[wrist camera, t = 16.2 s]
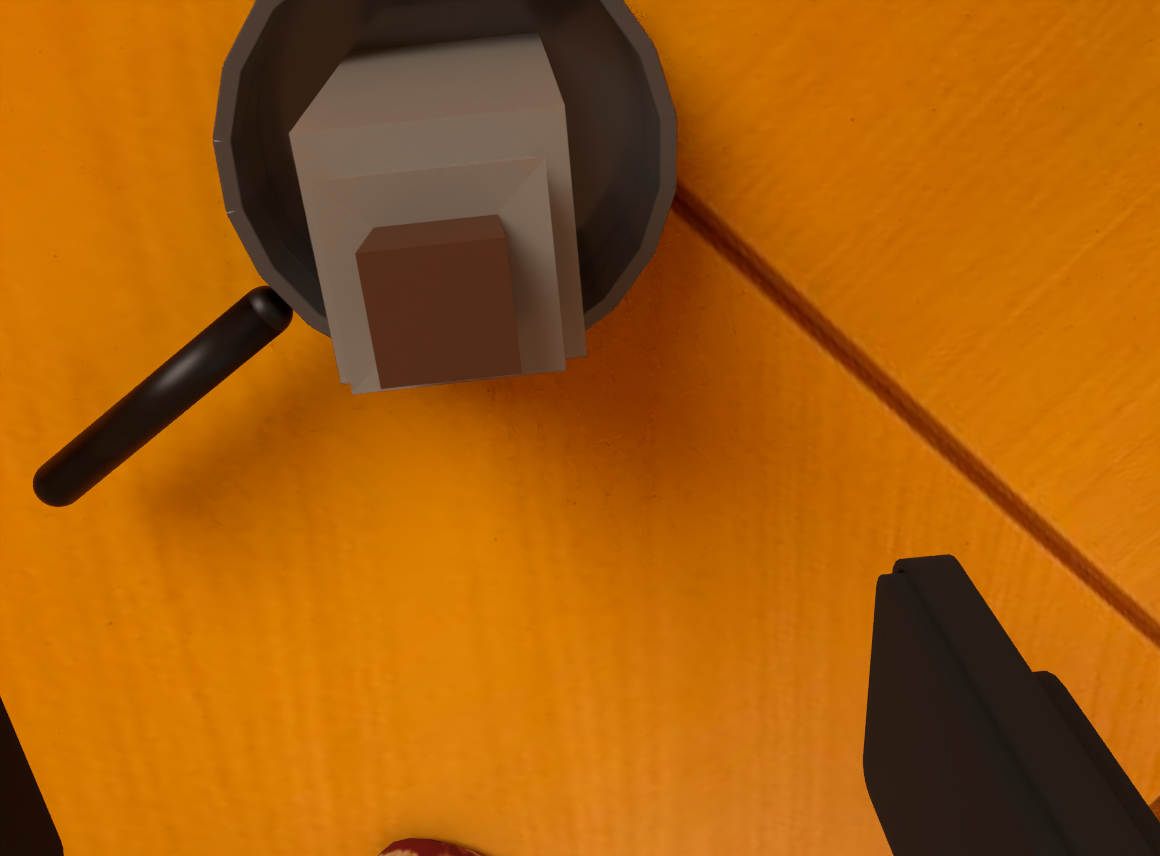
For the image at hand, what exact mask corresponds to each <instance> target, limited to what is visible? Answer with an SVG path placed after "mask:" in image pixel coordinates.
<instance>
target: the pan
mask: <svg viewBox="0 0 1160 856" xmlns="http://www.w3.org/2000/svg"><path fill="white" fill-rule="evenodd" d="M536 32H538V33H539V35H540V38H541V41H542V44H543V47H544V49H545V52H546V55H547V58H548V60H549V63H550V66H551V69H552V71H553V74H554V77H555V80H556V82H557V85H558V88H559V91H560V94H561V96H562V99H563V102H564V105H565V114H566V125H567V137H568V148H569V159H570V170H571V181H572V192H573V204H574V215H575V226H576V237H577V248H578V260H579V271H580V282H581V293H582V304H583V316H584V327H585V331H586V330H587V329H589V328H590V327H591V326H593V325H594V324H595V323H597V322H598V321H599V320H601V319H602V318H603V317H605V316H606V315H607V314H609V313H610V312H611V311H613V310H614V309H615V307H617V306H618V304H619V303H620V302H621V300H622V299H623V297H624V296H625V295H626V293H627V292H628V290H629V289H630V288H631V286H632V285H633V284H634V282H635V281H636V279H637V278H638V277H639V275H640V274H641V272H642V271H643V270H644V268H645V267H646V265H647V264H648V263H649V261H650V260H651V259H652V257H653V256H654V254H655V252H656V249H657V246H658V243H659V240H660V237H661V234H662V231H663V228H664V225H665V222H666V219H667V216H668V213H669V210H670V207H671V204H672V201H673V198H674V195H675V192H676V179H677V118H676V111H675V108H674V105H673V102H672V99H671V95H670V92H669V89H668V86H667V82H666V79H665V76H664V73H663V69H662V66H661V63H660V60H659V57H658V53H657V50H656V47H655V46H654V43H653V42H652V40H651V39H650V38H649V36H648V35H647V33H646V32H645V30H644V29H643V28H642V26H641V25H640V23H639V22H638V21H637V19H636V18H635V16H634V15H633V13H632V12H631V11H630V9H629V8H628V6H627V5H626V4H625V2H624V1H623V0H256V1H255V3H254V5H253V7H252V9H251V11H250V13H249V15H248V17H247V19H246V21H245V22H244V24H243V26H242V28H241V30H240V32H239V34H238V36H237V38H236V40H235V42H234V44H233V46H232V48H231V50H230V52H229V54H228V56H227V57H226V59H225V61H224V66H223V67H222V74H221V81H220V88H219V95H218V103H217V110H216V117H215V125H214V132H213V139H214V140H213V145H214V151H215V156H216V161H217V167H218V172H219V177H220V183H221V188H222V193H223V199H224V204H225V209H226V212H227V215H228V217H229V219H230V221H231V223H232V225H233V227H234V228H235V230H236V232H237V234H238V236H239V238H240V240H241V242H242V243H243V245H244V247H245V249H246V251H247V253H248V255H249V257H250V258H251V260H252V262H253V264H254V266H255V268H256V270H257V271H258V273H259V275H260V276H261V277H262V279H263V280H264V281H265V282H266V283H267V284H268V285H269V286H270V287H271V288H272V289H273V290H274V291H275V292H276V293H277V294H278V295H279V296H280V297H281V298H282V299H283V300H284V301H285V302H286V303H287V304H288V305H289V306H290V307H291V308H292V309H293V310H294V311H295V312H296V313H297V314H298V315H299V316H300V317H301V318H302V319H303V320H304V321H305V322H306V323H307V324H308V325H311V327H312V328H314V329H316V330H317V331H319V332H321V333H323V334H325V335H326V336H328V337H330V338H331V333H330V328H329V324H328V319H327V314H326V309H325V304H324V300H323V295H322V290H321V285H320V281H319V276H318V271H317V266H316V261H315V257H314V252H313V247H312V242H311V238H310V233H309V228H308V223H307V218H306V214H305V209H304V204H303V199H302V195H301V190H300V185H299V180H298V175H297V171H296V166H295V161H294V156H293V151H292V147H291V142H290V137H289V133H290V131H291V130H292V129H293V127H294V126H295V125H296V123H297V122H298V120H299V119H300V118H301V116H302V115H303V114H304V112H305V111H306V110H307V108H308V107H309V105H310V104H311V103H312V101H313V100H314V99H315V97H316V96H317V94H318V93H319V92H320V90H321V89H322V88H323V86H324V85H325V84H326V82H327V81H328V79H329V78H330V77H331V75H332V74H333V73H334V71H335V70H336V69H337V67H338V66H339V64H340V63H341V62H342V60H343V59H344V58H345V56H346V55H347V53H348V52H349V51H358V50H368V49H378V48H388V47H398V46H408V45H417V44H427V43H437V42H447V41H457V40H467V39H477V38H487V37H496V36H506V35H516V34H526V33H536Z"/></svg>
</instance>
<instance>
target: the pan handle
mask: <svg viewBox="0 0 1160 856" xmlns="http://www.w3.org/2000/svg"><path fill="white" fill-rule="evenodd" d="M292 317H293V309H292V308H291V307H290V306H289V305H288V304H287V303H286V302H285V301H284V300H283V299H282V298H281V297H280V296H279V295H278V294H277V293H276V292H275V291H274V290H273V289H272V288H271V287H270V286H260V287H257V288H255V289H253V290H251V291H250V292H249V293H247V294H246V295H245V296H244V297H243V298H241V299H240V300H239V301H238V302H237V303H235V304H234V305H233V306H232V307H231V308H230V309H228V310H227V311H226V312H225V313H224V314H222V315H221V316H220V317H219V318H218V319H216V320H215V321H214V322H213V323H212V324H210V325H209V326H208V327H207V328H206V329H204V330H203V331H202V332H201V333H200V334H199V335H197V336H196V337H195V338H194V339H193V340H191V341H190V342H189V343H188V344H187V345H185V346H184V347H183V348H182V349H181V350H179V351H178V352H177V353H176V354H175V355H173V356H172V357H171V358H170V359H169V360H167V361H166V362H165V363H164V364H163V365H162V366H160V367H159V368H158V369H157V370H156V371H154V372H153V373H152V374H151V375H150V376H148V377H147V378H146V379H145V380H144V381H142V382H141V383H140V384H139V385H138V386H136V387H135V388H134V389H133V390H132V391H131V392H129V393H128V394H127V395H126V396H125V397H123V398H122V399H121V400H120V401H119V402H117V403H116V404H115V405H114V406H113V407H111V408H110V409H109V410H108V411H107V412H105V413H104V414H103V415H102V416H101V417H100V418H98V419H97V420H96V421H95V422H94V423H92V424H91V425H90V426H89V427H88V428H86V429H85V430H84V431H83V432H82V433H80V434H79V435H78V436H77V437H76V438H74V439H73V440H72V441H71V442H70V443H68V444H67V445H66V446H65V447H64V448H63V449H61V450H60V451H59V452H58V453H57V454H55V455H54V456H53V457H52V458H51V459H49V460H48V461H47V462H46V463H45V464H43V465H42V466H41V467H40V468H39V469H38V470H37V472H36V474H35V476H34V479H33V489H34V492H35V494H36V496H37V497H38V498H39V499H40V500H41V501H42V502H43V503H45V504H47V505H50V506H54V507H63V506H67V505H70V504H72V503H74V502H75V501H76V500H78V499H79V498H80V497H81V496H83V495H84V494H85V493H86V492H87V491H89V490H90V489H91V488H92V487H94V486H95V485H96V484H97V483H98V482H100V481H101V480H102V479H103V478H105V477H106V476H107V475H108V474H109V473H111V472H112V471H113V470H114V469H116V468H117V467H118V466H119V465H120V464H122V463H123V462H124V461H125V460H127V459H128V458H129V457H130V456H131V455H133V454H134V453H135V452H136V451H138V450H139V449H140V448H141V447H142V446H144V445H145V444H146V443H147V442H149V441H150V440H151V439H152V438H153V437H155V436H156V435H157V434H158V433H160V432H161V431H162V430H163V429H164V428H166V427H167V426H168V425H169V424H170V423H172V422H173V421H174V420H175V419H177V418H178V417H179V416H180V415H181V414H183V413H184V412H185V411H186V410H188V409H189V408H190V407H191V406H192V405H194V404H195V403H196V402H197V401H199V400H200V399H201V398H202V397H203V396H205V395H206V394H207V393H208V392H210V391H211V390H212V389H213V388H214V387H216V386H217V385H218V384H219V383H221V382H222V381H223V380H224V379H225V378H227V377H228V376H229V375H230V374H232V373H233V372H234V371H235V370H236V369H238V368H239V367H240V366H241V365H243V364H244V363H245V362H246V361H247V360H249V359H250V358H251V357H252V356H254V355H255V354H256V353H257V352H258V351H260V350H261V349H262V348H263V347H265V346H266V345H267V344H268V343H269V342H271V341H272V340H273V339H274V338H276V337H277V336H278V335H279V334H280V333H282V332H283V331H284V330H285V329H286V328H287V327H288V326H289V324H290V323H291V320H292Z"/></svg>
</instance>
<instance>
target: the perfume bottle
mask: <svg viewBox="0 0 1160 856" xmlns="http://www.w3.org/2000/svg"><path fill="white" fill-rule="evenodd" d="M289 137H290V142H291V147H292V151H293V156H294V161H295V166H296V171H297V175H298V180H299V185H300V190H301V195H302V199H303V204H304V209H305V214H306V218H307V223H308V228H309V233H310V238H311V242H312V247H313V252H314V257H315V261H316V266H317V271H318V276H319V281H320V285H321V290H322V295H323V300H324V304H325V309H326V314H327V319H328V324H329V328H330V333H331V338H332V343H333V348H334V352H335V357H336V362H337V367H338V371H339V376H340V381H341V384H344V383H350V384H351V389H352V394H361V393H370V392H379V391H388V390H397V389H406V388H415V387H424V386H433V385H442V384H450V383H459V382H468V381H477V380H486V379H495V378H504V377H513V376H522V375H531V374H540V373H549V372H558V371H566V362H565V359H568V358H577V357H586V356H587V349H586V338H585V327H584V316H583V304H582V293H581V282H580V271H579V260H578V248H577V237H576V226H575V215H574V204H573V192H572V181H571V170H570V159H569V148H568V137H567V125H566V114H565V105H564V102H563V99H562V96H561V94H560V91H559V88H558V85H557V82H556V80H555V77H554V74H553V71H552V69H551V66H550V63H549V60H548V58H547V55H546V52H545V49H544V47H543V44H542V41H541V38H540V35H539V33H538V32H536V33H526V34H516V35H506V36H496V37H487V38H477V39H467V40H457V41H447V42H437V43H427V44H417V45H408V46H398V47H388V48H378V49H368V50H358V51H349V52H348V53H347V55H346V56H345V58H344V59H343V60H342V62H341V63H340V64H339V66H338V67H337V69H336V70H335V71H334V73H333V74H332V75H331V77H330V78H329V79H328V81H327V82H326V84H325V85H324V86H323V88H322V89H321V90H320V92H319V93H318V94H317V96H316V97H315V99H314V100H313V101H312V103H311V104H310V105H309V107H308V108H307V110H306V111H305V112H304V114H303V115H302V116H301V118H300V119H299V120H298V122H297V123H296V125H295V126H294V127H293V129H292V130H291V131H290V133H289Z"/></svg>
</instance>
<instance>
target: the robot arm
mask: <svg viewBox="0 0 1160 856" xmlns="http://www.w3.org/2000/svg"><path fill="white" fill-rule="evenodd" d="M863 769H864V777H865V782H866V786H867V790H868V793H869V796H870V799H871V801H872V803H873V806H874V808H875V811H876V813H877V816H878V818H879V821H880V823H881V826H882V828H883V831H884V833H885V836H886V838H887V841H888V843H889V845H890V848H891V850H892V853H893V855H894V856H1160V822H1159V821H1158V819H1157V818H1156V816H1155V815H1154V814H1153V812H1152V811H1151V809H1150V808H1149V806H1148V805H1147V804H1146V802H1145V801H1144V799H1143V798H1142V796H1141V795H1140V794H1139V792H1138V791H1137V789H1136V788H1135V786H1134V785H1133V783H1132V782H1131V781H1130V779H1129V778H1128V776H1127V775H1126V773H1125V772H1124V771H1123V769H1122V768H1121V766H1120V765H1119V763H1118V762H1117V760H1116V759H1115V758H1114V756H1113V755H1112V753H1111V752H1110V750H1109V749H1108V748H1107V746H1106V745H1105V743H1104V742H1103V740H1102V739H1101V737H1100V736H1099V735H1098V733H1097V732H1096V730H1095V729H1094V727H1093V726H1092V725H1091V723H1090V722H1089V720H1088V719H1087V717H1086V716H1085V714H1084V713H1083V712H1082V710H1081V709H1080V707H1079V706H1078V704H1077V703H1076V702H1075V700H1074V699H1073V697H1072V696H1071V694H1070V693H1069V692H1068V690H1067V689H1066V687H1065V686H1064V685H1063V684H1062V683H1061V681H1060V680H1059V679H1058V678H1057V677H1056V676H1055V675H1053V674H1051V673H1049V672H1048V671H1038V672H1032V671H1031V669H1030V668H1029V666H1028V665H1027V663H1026V662H1025V660H1024V659H1023V657H1022V656H1021V654H1020V653H1019V651H1018V650H1017V648H1016V647H1015V645H1014V644H1013V642H1012V641H1011V639H1010V638H1009V636H1008V635H1007V633H1006V632H1005V630H1004V629H1003V627H1002V626H1001V624H1000V623H999V621H998V620H997V618H996V617H995V616H994V614H993V613H992V611H991V610H990V608H989V607H988V605H987V604H986V602H985V601H984V599H983V598H982V596H981V595H980V593H979V592H978V590H977V589H976V587H975V586H974V584H973V583H972V581H971V580H970V578H969V577H968V575H967V574H966V572H965V571H964V569H963V568H962V566H961V565H960V563H959V562H958V560H957V559H956V558H955V557H954V556H952V555H949V554H947V555H937V556H927V557H916V558H906V559H899V560H897V561H896V562H895V564H894V567H893V572H892V574H883V575H880V576H879V578H878V580H877V586H876V597H875V610H874V623H873V636H872V649H871V662H870V675H869V688H868V701H867V714H866V727H865V739H864V752H863ZM0 856H64V853H63V846H62V843H61V840H60V837H59V835H58V833H57V830H56V828H55V825H54V823H53V821H52V818H51V816H50V814H49V811H48V809H47V806H46V804H45V802H44V799H43V797H42V795H41V792H40V790H39V787H38V785H37V783H36V780H35V778H34V775H33V773H32V771H31V768H30V766H29V764H28V761H27V759H26V756H25V754H24V752H23V749H22V747H21V745H20V742H19V740H18V737H17V735H16V733H15V730H14V728H13V725H12V723H11V721H10V718H9V716H8V714H7V711H6V709H5V706H4V704H3V702H2V699H1V697H0Z"/></svg>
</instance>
